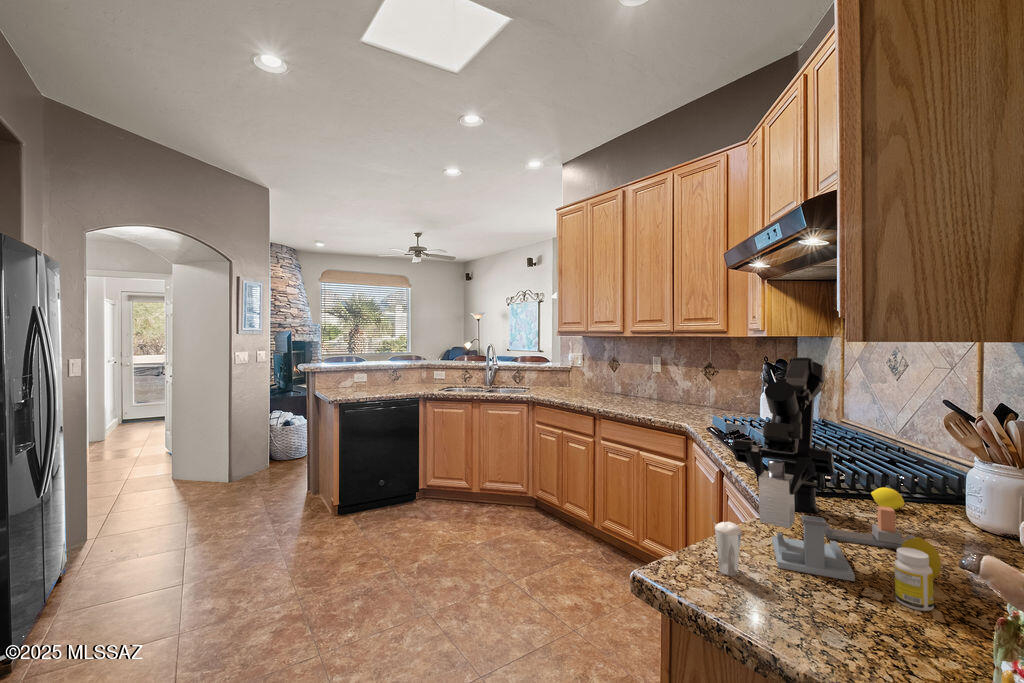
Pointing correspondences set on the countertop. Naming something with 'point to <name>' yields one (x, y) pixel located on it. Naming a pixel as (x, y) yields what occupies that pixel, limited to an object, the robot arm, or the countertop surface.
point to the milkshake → (728, 547)
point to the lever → (886, 526)
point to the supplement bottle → (913, 579)
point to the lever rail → (859, 538)
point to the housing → (776, 496)
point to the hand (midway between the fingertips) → (775, 490)
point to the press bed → (801, 566)
